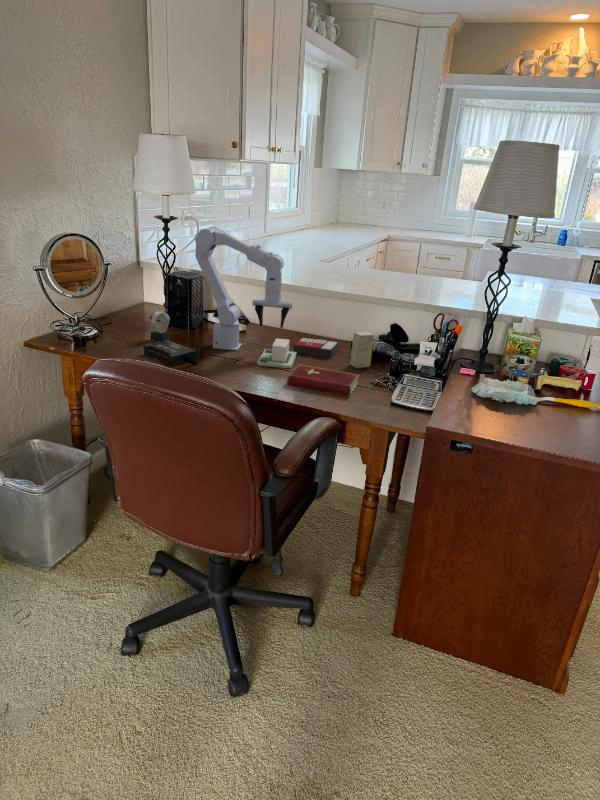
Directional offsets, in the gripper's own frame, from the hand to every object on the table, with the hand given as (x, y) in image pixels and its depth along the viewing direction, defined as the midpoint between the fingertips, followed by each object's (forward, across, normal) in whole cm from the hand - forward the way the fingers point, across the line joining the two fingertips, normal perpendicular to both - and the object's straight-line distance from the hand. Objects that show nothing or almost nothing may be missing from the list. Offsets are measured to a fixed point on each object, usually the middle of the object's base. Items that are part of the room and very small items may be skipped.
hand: (271, 326), depth 206 cm
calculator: (+10, +17, +6) cm, 21 cm away
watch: (+10, -43, +1) cm, 44 cm away
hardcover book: (+11, +22, -28) cm, 38 cm away
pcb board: (+10, +4, -8) cm, 13 cm away
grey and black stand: (+11, -31, -18) cm, 38 cm away
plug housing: (+9, +5, -8) cm, 13 cm away
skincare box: (+10, +34, -5) cm, 36 cm away
